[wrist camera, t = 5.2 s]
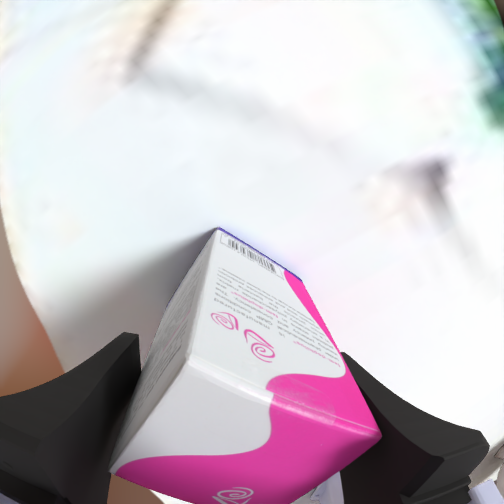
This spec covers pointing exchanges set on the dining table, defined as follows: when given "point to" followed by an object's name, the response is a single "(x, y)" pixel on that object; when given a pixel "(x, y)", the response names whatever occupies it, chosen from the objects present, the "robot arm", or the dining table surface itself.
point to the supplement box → (241, 389)
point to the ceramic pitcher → (500, 472)
